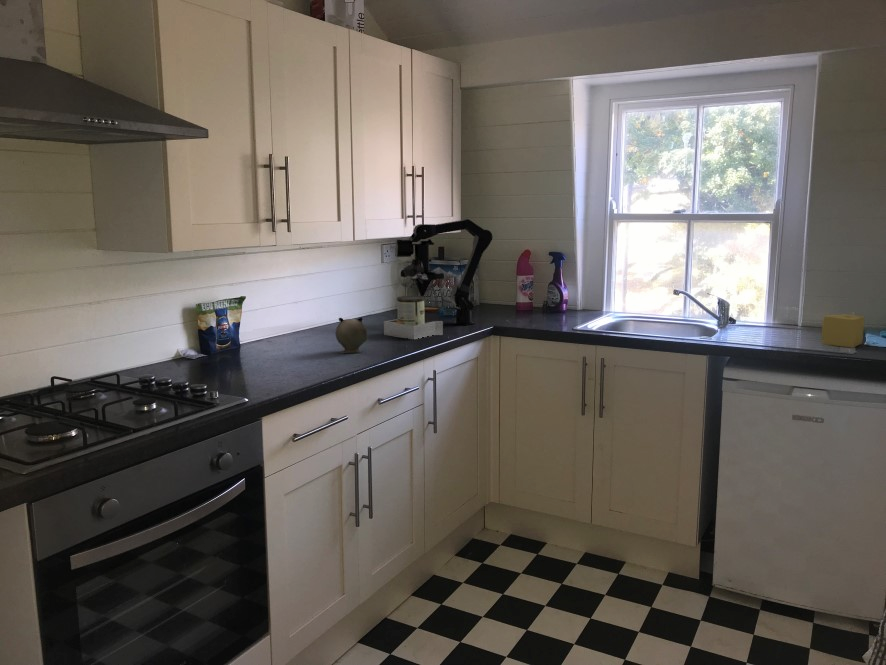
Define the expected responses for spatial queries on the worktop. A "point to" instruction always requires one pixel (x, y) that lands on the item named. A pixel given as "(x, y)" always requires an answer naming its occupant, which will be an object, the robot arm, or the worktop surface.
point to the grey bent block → (412, 329)
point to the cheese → (842, 330)
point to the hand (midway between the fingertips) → (422, 296)
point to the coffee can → (410, 309)
